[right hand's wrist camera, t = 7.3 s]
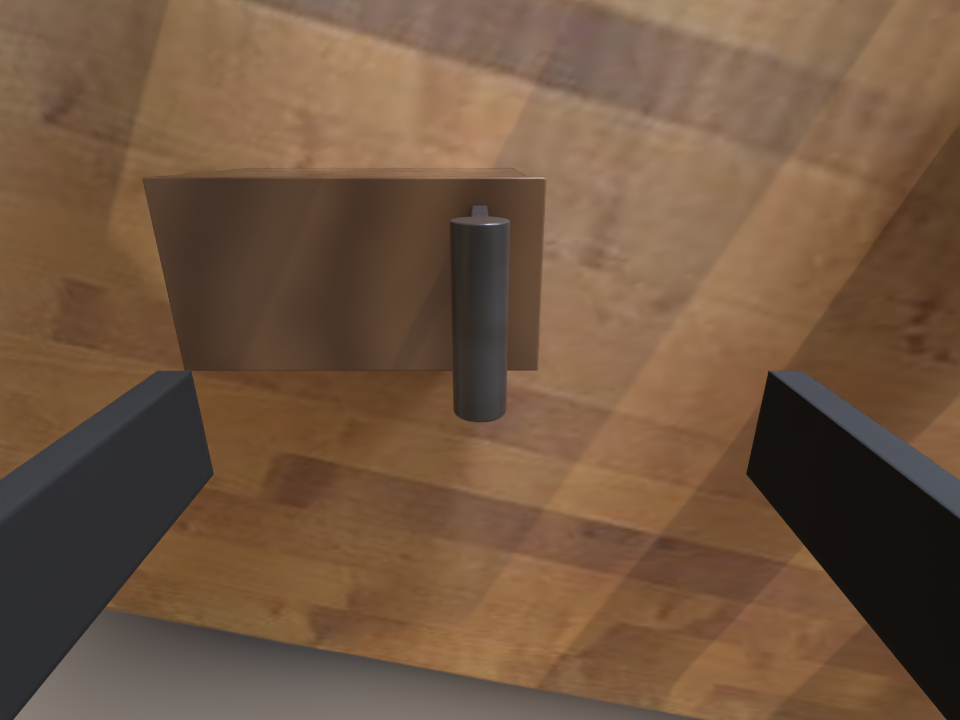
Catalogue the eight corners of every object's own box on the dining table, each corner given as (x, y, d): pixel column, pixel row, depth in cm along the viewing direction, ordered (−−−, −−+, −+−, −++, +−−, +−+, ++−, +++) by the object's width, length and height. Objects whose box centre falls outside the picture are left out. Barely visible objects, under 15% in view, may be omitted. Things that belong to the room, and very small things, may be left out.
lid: (544, 176, 25) (574, 189, 17) (536, 364, 28) (557, 447, 20) (152, 176, 25) (2, 189, 17) (192, 364, 28) (83, 447, 20)
